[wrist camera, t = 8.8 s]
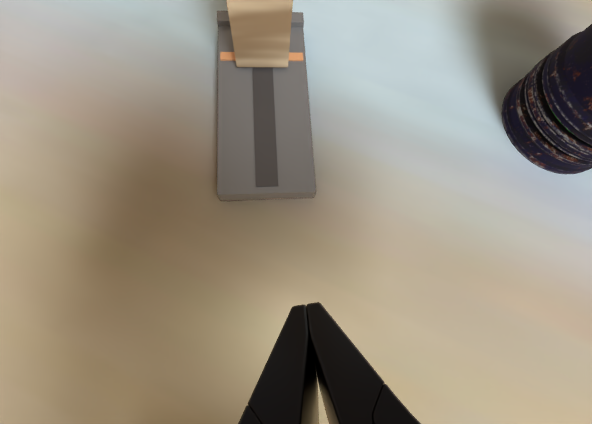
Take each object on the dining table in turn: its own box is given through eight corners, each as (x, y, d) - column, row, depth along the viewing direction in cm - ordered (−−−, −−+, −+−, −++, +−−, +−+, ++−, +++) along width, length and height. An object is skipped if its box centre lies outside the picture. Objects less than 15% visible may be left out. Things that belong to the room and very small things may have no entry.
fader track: (313, 197, 23) (317, 189, 21) (220, 200, 23) (215, 192, 21) (300, 32, 27) (302, 12, 25) (221, 31, 27) (217, 10, 25)
